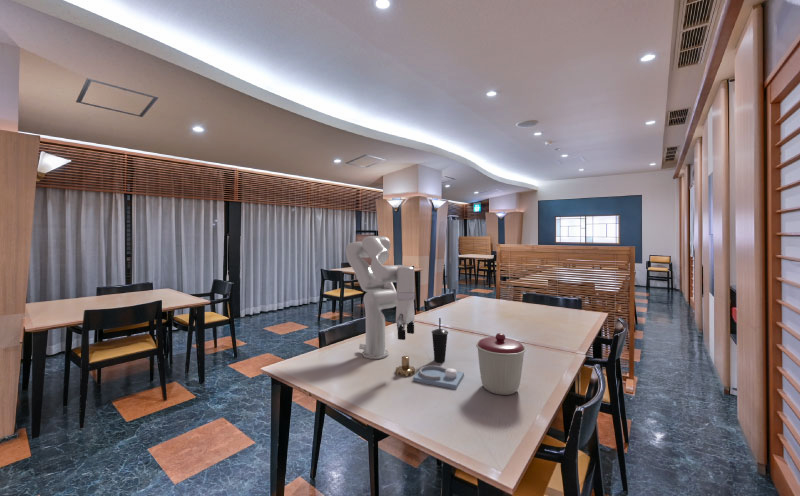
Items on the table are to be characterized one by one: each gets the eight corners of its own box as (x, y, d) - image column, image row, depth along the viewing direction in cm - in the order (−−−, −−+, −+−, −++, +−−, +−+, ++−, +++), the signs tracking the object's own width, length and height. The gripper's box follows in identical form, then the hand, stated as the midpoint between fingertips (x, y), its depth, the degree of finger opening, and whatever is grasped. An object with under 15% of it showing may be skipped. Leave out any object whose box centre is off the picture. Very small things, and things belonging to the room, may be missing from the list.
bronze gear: (392, 374, 136) (392, 359, 136) (400, 367, 143) (400, 352, 143) (410, 377, 132) (410, 362, 132) (417, 370, 140) (417, 355, 140)
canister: (519, 405, 110) (520, 344, 110) (468, 392, 120) (469, 335, 119) (529, 385, 126) (530, 331, 125) (483, 375, 135) (484, 324, 135)
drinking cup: (447, 364, 146) (447, 320, 146) (430, 363, 148) (430, 319, 147) (448, 358, 154) (448, 316, 153) (432, 357, 155) (432, 315, 155)
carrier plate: (413, 380, 129) (413, 371, 129) (423, 369, 141) (423, 359, 141) (456, 389, 122) (456, 378, 122) (463, 375, 134) (464, 366, 134)
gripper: (405, 292, 146) (405, 330, 146) (388, 298, 130) (389, 341, 131) (421, 293, 143) (421, 332, 143) (406, 299, 127) (406, 343, 128)
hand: (406, 336), depth 137 cm, fingers open, 9 cm apart
